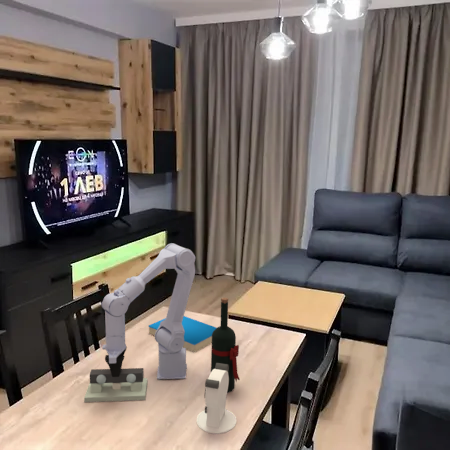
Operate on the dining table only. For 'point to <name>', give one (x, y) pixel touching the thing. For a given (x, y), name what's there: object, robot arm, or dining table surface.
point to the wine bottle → (225, 346)
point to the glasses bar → (125, 376)
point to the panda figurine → (216, 403)
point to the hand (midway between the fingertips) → (116, 373)
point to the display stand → (116, 391)
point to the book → (191, 333)
